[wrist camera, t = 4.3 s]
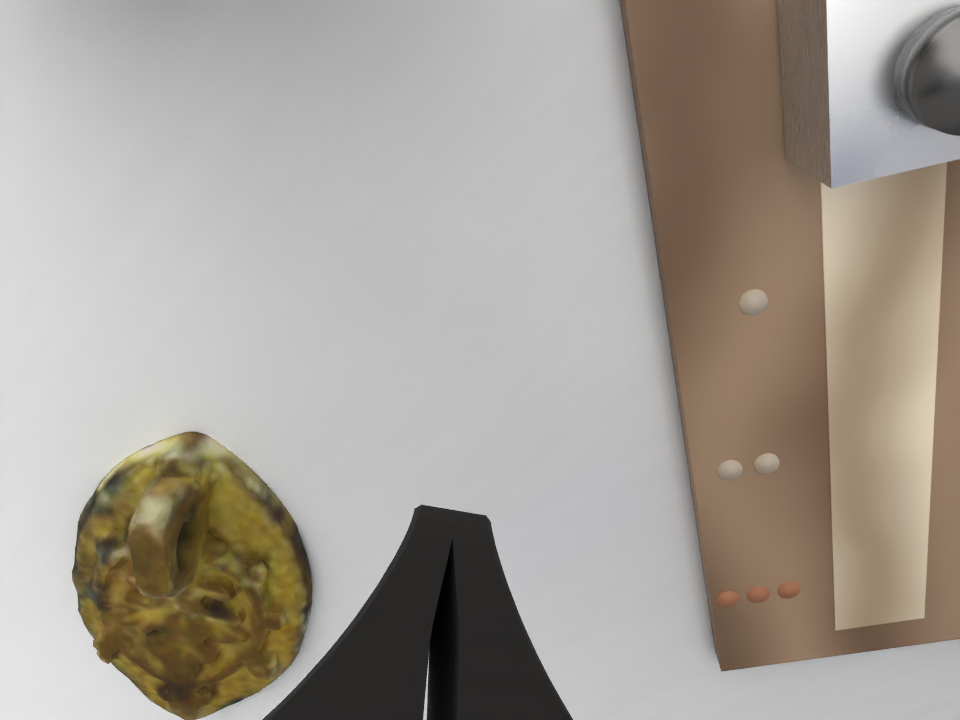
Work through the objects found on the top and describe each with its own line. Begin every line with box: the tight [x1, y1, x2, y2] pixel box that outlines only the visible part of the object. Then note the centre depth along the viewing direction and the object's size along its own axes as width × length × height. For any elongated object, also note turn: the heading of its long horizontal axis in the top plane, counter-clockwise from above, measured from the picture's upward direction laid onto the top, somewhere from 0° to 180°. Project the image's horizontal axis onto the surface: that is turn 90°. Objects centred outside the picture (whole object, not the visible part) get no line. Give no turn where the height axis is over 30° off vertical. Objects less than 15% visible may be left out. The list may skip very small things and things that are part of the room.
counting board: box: [620, 0, 960, 671], centre depth 22 cm, size 12×26×1 cm, turn 14°
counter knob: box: [777, 0, 960, 189], centre depth 16 cm, size 5×4×4 cm
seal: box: [72, 432, 312, 720], centre depth 27 cm, size 9×5×15 cm
